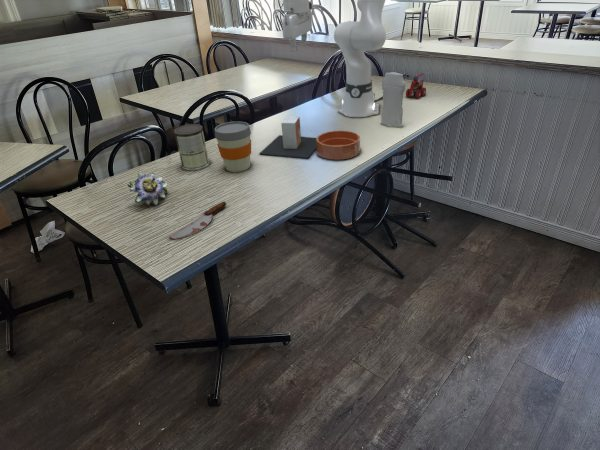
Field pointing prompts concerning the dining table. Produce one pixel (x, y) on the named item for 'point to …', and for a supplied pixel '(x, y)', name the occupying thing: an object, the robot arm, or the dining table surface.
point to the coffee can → (191, 146)
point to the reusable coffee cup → (234, 145)
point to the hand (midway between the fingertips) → (299, 48)
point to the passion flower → (148, 188)
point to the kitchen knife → (198, 222)
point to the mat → (302, 151)
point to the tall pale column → (392, 99)
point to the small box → (291, 132)
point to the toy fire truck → (416, 87)
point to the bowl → (338, 145)
